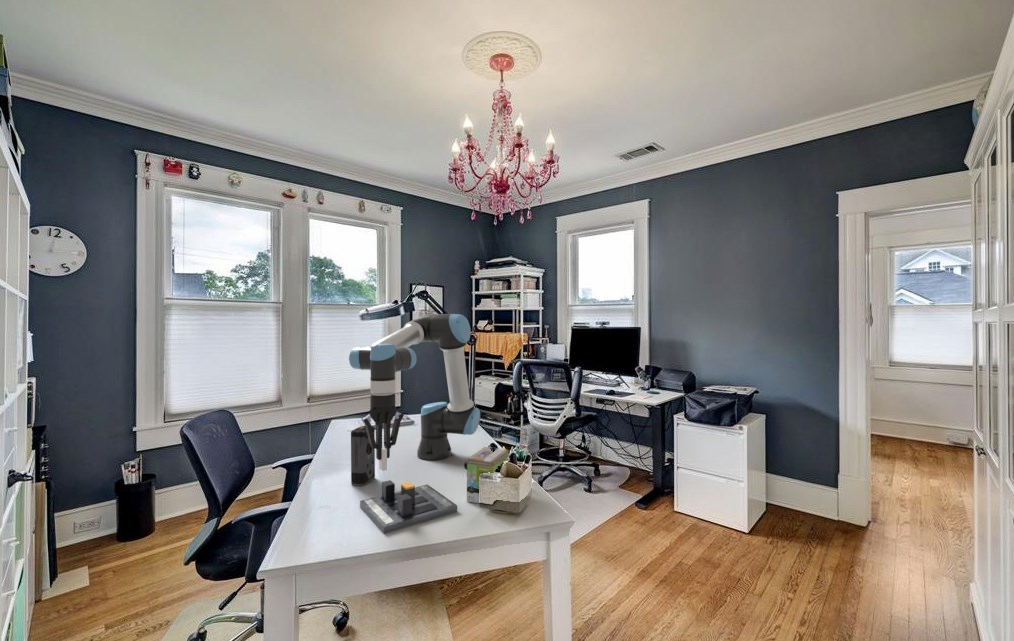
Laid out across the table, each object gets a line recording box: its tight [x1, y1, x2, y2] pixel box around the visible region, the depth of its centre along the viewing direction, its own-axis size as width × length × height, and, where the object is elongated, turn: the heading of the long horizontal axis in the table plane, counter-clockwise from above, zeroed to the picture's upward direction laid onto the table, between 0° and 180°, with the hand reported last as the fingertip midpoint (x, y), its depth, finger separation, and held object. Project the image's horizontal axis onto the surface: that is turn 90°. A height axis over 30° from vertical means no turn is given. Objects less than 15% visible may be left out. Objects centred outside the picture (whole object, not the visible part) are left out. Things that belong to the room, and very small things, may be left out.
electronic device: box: [350, 425, 376, 487], centre depth 167 cm, size 9×6×20 cm, turn 168°
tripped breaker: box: [400, 481, 416, 504], centre depth 143 cm, size 3×4×6 cm
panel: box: [359, 479, 458, 535], centre depth 143 cm, size 24×22×7 cm
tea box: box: [466, 446, 510, 504], centre depth 153 cm, size 15×10×15 cm
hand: (383, 469), depth 138 cm, fingers closed
